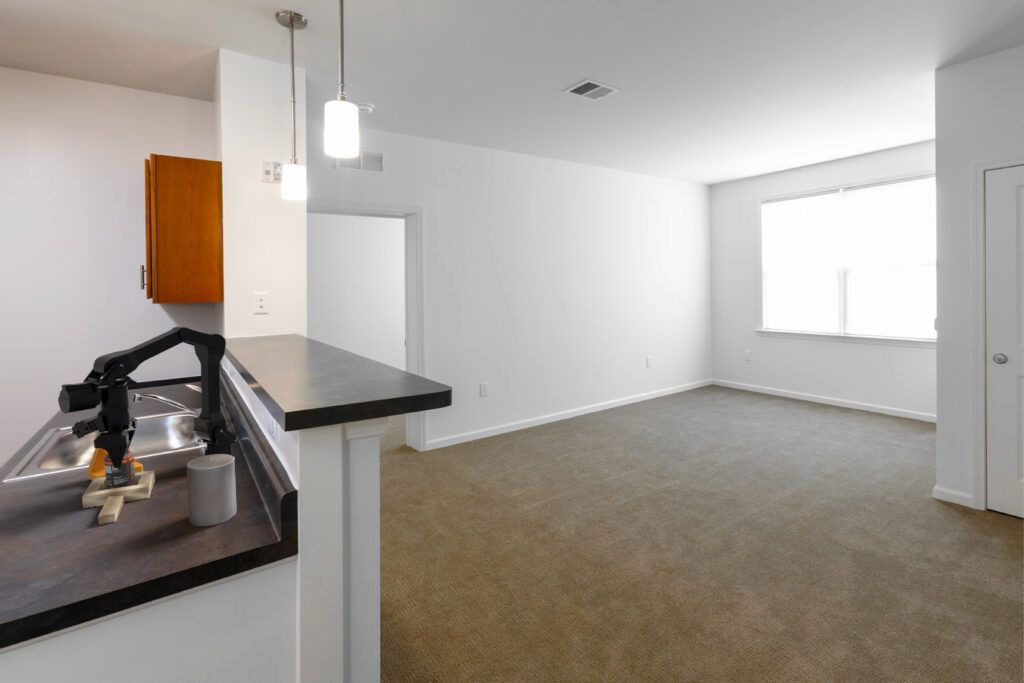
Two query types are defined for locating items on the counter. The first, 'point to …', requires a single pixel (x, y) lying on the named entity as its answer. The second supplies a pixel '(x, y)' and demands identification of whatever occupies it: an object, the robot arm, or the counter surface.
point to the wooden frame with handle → (117, 495)
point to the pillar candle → (211, 489)
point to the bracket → (98, 466)
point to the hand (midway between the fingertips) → (119, 463)
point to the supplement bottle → (120, 472)
